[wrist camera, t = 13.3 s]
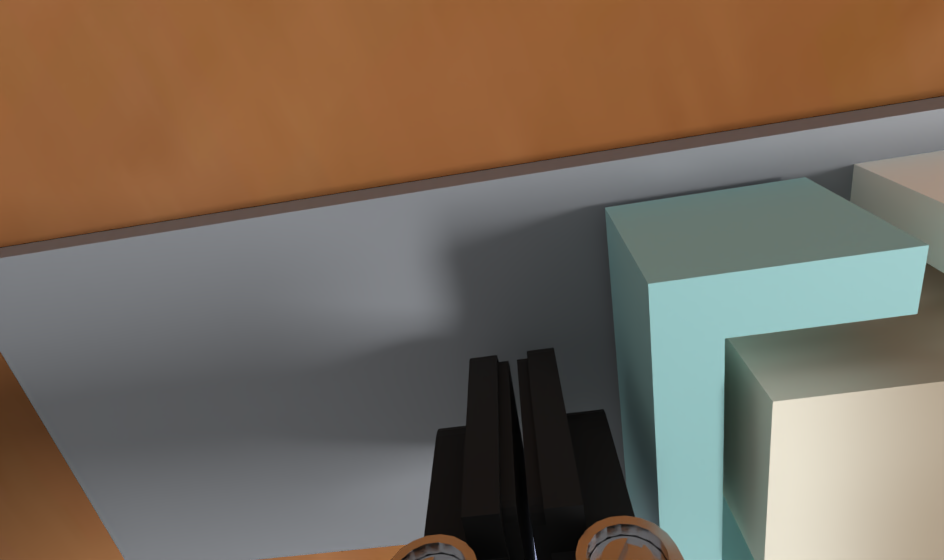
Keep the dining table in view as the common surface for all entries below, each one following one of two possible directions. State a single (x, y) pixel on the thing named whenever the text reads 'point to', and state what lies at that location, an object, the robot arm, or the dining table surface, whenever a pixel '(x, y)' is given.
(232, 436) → the rail
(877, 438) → the block
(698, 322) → the cap
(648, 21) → the dining table surface
